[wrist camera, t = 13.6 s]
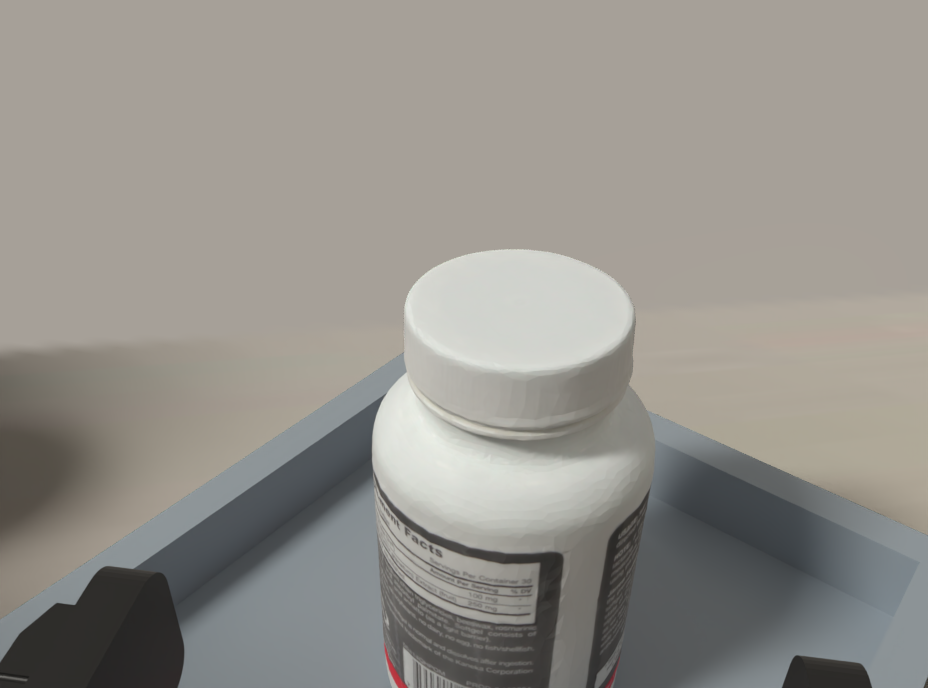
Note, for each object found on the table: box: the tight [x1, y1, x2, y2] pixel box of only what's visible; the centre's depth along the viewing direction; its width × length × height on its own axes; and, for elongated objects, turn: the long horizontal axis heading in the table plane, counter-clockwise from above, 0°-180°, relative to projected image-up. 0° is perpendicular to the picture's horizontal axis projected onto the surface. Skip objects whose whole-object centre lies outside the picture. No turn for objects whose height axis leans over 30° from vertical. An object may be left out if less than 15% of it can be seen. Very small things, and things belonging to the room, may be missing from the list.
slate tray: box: [0, 352, 928, 688], centre depth 20 cm, size 16×16×3 cm
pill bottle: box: [372, 249, 655, 688], centre depth 18 cm, size 5×5×10 cm
